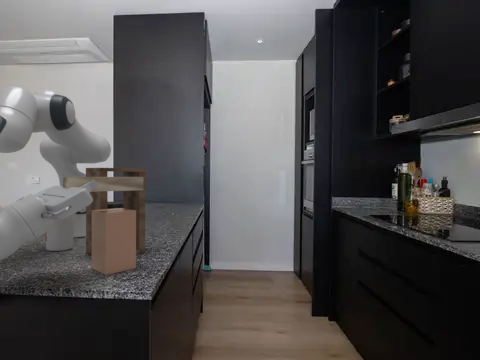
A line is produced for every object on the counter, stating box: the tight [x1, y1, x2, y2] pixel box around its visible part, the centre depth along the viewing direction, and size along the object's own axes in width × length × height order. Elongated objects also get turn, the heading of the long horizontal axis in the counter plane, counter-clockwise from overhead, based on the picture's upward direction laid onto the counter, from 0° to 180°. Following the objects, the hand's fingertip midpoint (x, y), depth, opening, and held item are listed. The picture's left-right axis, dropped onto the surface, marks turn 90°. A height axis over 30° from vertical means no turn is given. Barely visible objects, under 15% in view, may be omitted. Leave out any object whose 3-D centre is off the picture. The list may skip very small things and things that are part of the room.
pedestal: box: [91, 208, 137, 276], centre depth 86 cm, size 8×8×15 cm
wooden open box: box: [85, 167, 146, 258], centre depth 102 cm, size 10×14×26 cm
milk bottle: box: [45, 215, 74, 252], centre depth 107 cm, size 8×8×20 cm
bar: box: [63, 176, 143, 192], centre depth 84 cm, size 4×19×4 cm, turn 137°
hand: (90, 182), depth 82 cm, fingers closed on bar, 3 cm apart
